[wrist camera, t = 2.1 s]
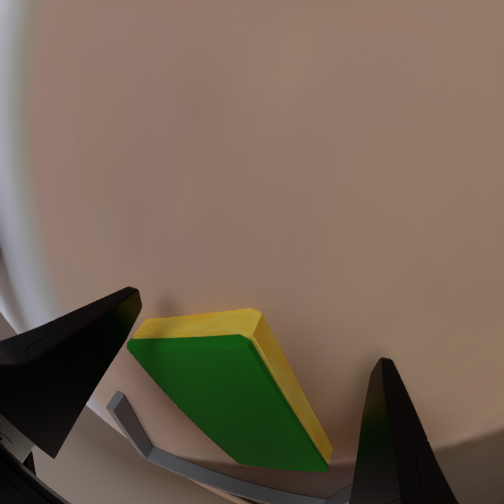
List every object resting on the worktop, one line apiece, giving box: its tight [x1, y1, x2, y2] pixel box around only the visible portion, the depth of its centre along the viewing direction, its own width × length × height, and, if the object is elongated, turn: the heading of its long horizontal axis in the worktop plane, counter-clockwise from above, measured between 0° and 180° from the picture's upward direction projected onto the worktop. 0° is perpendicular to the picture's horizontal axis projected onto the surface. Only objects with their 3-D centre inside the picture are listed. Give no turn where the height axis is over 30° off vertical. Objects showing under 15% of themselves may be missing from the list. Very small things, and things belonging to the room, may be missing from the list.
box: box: [106, 391, 352, 504], centre depth 24 cm, size 24×15×2 cm, turn 85°
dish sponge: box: [127, 308, 333, 472], centre depth 16 cm, size 7×14×2 cm, turn 24°
